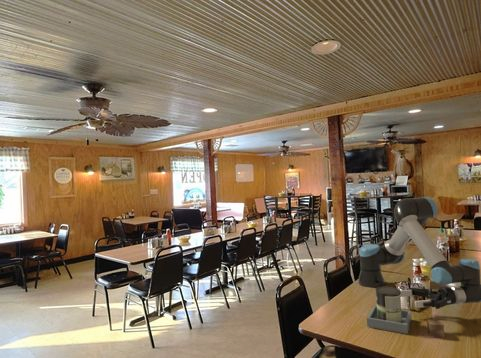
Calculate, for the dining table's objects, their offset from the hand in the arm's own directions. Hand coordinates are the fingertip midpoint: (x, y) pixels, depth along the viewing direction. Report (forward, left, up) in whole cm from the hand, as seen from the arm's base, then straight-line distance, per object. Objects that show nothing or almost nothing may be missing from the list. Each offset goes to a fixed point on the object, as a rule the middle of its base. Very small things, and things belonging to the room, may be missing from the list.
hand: (406, 298), depth 147 cm
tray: (-7, -5, -10) cm, 13 cm away
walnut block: (+11, -8, -10) cm, 17 cm away
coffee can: (-7, -5, -9) cm, 13 cm away
